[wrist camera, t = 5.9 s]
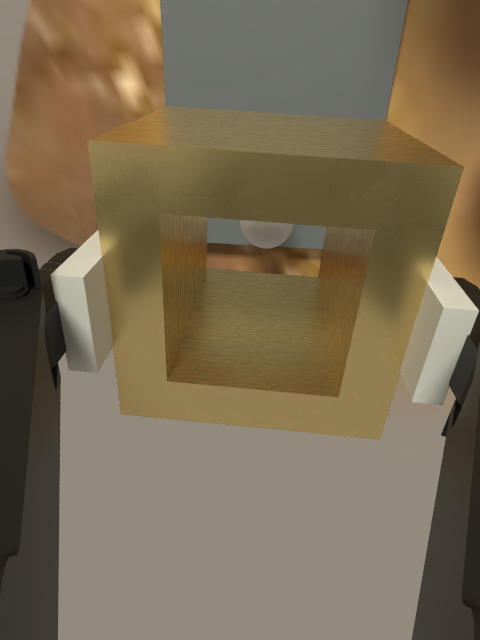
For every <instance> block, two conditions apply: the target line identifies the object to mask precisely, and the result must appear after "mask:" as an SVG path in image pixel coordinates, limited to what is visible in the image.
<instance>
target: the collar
mask: <svg viewBox="0 0 480 640" xmlns="http://www.w3.org/2000/svg"><path fill="white" fill-rule="evenodd" d="M87 141H88V149H89V158H90V166H91V174H92V182H93V190H94V198H95V206H96V215H97V223H98V231H99V239H100V247H101V255H102V256H103V263H104V271H105V280H106V288H107V296H108V304H109V313H110V321H111V329H112V337H113V345H114V346H113V353H114V361H115V369H116V377H117V385H118V394H119V402H120V410H121V414H123V415H133V416H144V417H154V418H164V419H176V420H185V421H195V422H205V423H216V424H226V425H236V426H247V427H257V428H267V429H278V430H288V431H298V432H308V433H319V434H329V435H339V436H350V437H360V438H370V439H380V437H381V434H382V430H383V427H384V424H385V421H386V417H387V414H388V411H389V408H390V404H391V401H392V398H393V394H394V392H395V388H396V385H397V382H398V378H399V375H400V369H401V366H402V363H403V359H404V356H405V353H406V350H407V346H408V343H409V340H410V337H411V333H412V330H413V327H414V324H415V320H416V317H417V314H418V311H419V307H420V304H421V301H422V298H423V294H424V291H425V288H426V285H427V282H429V278H430V275H431V272H432V269H433V266H434V262H435V259H436V256H437V253H438V249H439V246H440V243H441V240H442V237H443V233H444V230H445V227H446V224H447V220H448V217H449V214H450V211H451V207H452V204H453V201H454V198H455V195H456V191H457V188H458V185H459V182H460V178H461V175H462V172H463V169H464V166H462V165H460V164H458V163H457V162H455V161H453V160H452V159H450V158H448V157H447V156H445V155H443V154H441V153H440V152H438V151H436V150H435V149H433V148H431V147H430V146H428V145H426V144H424V143H423V142H421V141H419V140H418V139H416V138H414V137H413V136H411V135H409V134H407V133H406V132H404V131H402V130H401V129H399V128H397V127H396V126H394V125H392V124H390V123H389V122H387V121H385V120H372V119H357V118H342V117H327V116H312V115H297V114H282V113H266V112H251V111H236V110H221V109H206V108H191V107H176V106H168V107H166V108H163V109H161V110H159V111H156V112H154V113H151V114H149V115H147V116H144V117H142V118H139V119H137V120H135V121H132V122H130V123H128V124H125V125H123V126H120V127H118V128H116V129H113V130H111V131H108V132H106V133H104V134H101V135H99V136H97V137H94V138H92V139H89V140H87ZM207 218H221V219H234V220H247V221H260V222H273V223H286V224H299V225H312V226H325V227H326V232H325V238H324V244H323V251H322V257H321V263H320V269H319V275H318V277H306V276H294V275H281V274H269V273H257V272H245V271H233V270H220V269H208V268H207Z"/></svg>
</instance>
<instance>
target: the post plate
mask: <svg viewBox="0 0 480 640" xmlns="http://www.w3.org/2000/svg"><path fill="white" fill-rule="evenodd" d="M160 4H161V23H162V42H163V61H164V80H165V99H166V107H168V106H176V107H191V108H206V109H221V110H236V111H251V112H266V113H282V114H297V115H312V116H327V117H342V118H357V119H372V120H385V121H386V116H387V111H388V105H389V100H390V95H391V89H392V84H393V79H394V73H395V68H396V63H397V57H398V52H399V47H400V41H401V36H402V31H403V25H404V20H405V15H406V9H407V4H408V0H160ZM325 232H326V227H325V226H312V225H299V224H286V223H273V222H260V221H247V220H234V219H221V218H207V243H220V244H237V245H254V246H257V247H259V248H265V249H268V248H274V247H289V248H306V249H323V244H324V238H325Z"/></svg>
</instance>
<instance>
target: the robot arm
mask: <svg viewBox="0 0 480 640" xmlns="http://www.w3.org/2000/svg"><path fill="white" fill-rule="evenodd" d="M113 346H114V345H113V337H112V329H111V321H110V313H109V304H108V296H107V288H106V280H105V271H104V263H103V256H102V255H101V247H100V239H99V231H97V232H96V233H95V234H93V235H92V236H91V237H90V238H89V239H88V240H87V241H86V242H85V243H84V244H83V245H82V246H81V247H80V248H69V249H67V250H65V251H62V252H60V253H57V254H56V255H55V256H53V257H52V258H51V259H50V260H49V261H48V263H45V264H44V265H43V266H42V267H41V269H39V270H38V265H37V261H36V257H35V255H34V253H31V252H29V251H26V250H20V249H6V250H0V640H58V568H59V567H58V566H59V476H60V384H61V383H60V382H61V376H60V371H59V366H58V361H59V360H60V359H61V357H62V356H63V355H64V353H66V358H67V363H68V368H69V370H72V371H83V372H95V373H98V371H99V370H100V368H101V366H102V364H103V363H104V361H105V359H106V357H107V355H108V354H109V352H110V351H111V349H112V347H113ZM400 373H401V376H402V378H403V381H404V383H405V386H406V389H407V391H408V394H409V397H410V399H411V402H416V403H428V404H438V405H442V404H443V401H444V399H445V396H446V394H447V391H448V388H449V386H450V387H451V389H452V391H453V393H454V395H455V397H456V400H455V402H454V405H453V407H452V410H451V412H450V414H449V417H448V419H447V422H446V424H445V427H444V429H443V432H442V434H441V435H442V436H445V437H446V441H445V446H444V452H443V459H442V464H441V470H440V476H439V482H438V488H437V494H436V500H435V506H434V512H433V518H432V523H431V529H430V535H429V541H428V547H427V553H426V559H425V565H424V571H423V577H422V583H421V589H420V594H419V601H418V607H417V613H416V619H415V625H414V630H413V636H412V640H480V290H479V288H478V287H477V286H475V285H473V284H472V283H470V282H469V281H467V280H465V279H464V278H456V277H452V276H451V274H450V273H449V272H448V271H447V269H446V268H445V267H444V265H443V264H442V263H441V262H440V260H439V259H438V258H437V257H436V259H435V262H434V266H433V269H432V272H431V275H430V278H429V282H427V285H426V288H425V291H424V294H423V298H422V301H421V304H420V307H419V311H418V314H417V317H416V320H415V324H414V327H413V330H412V333H411V337H410V340H409V343H408V346H407V350H406V353H405V356H404V359H403V363H402V366H401V369H400Z"/></svg>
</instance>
